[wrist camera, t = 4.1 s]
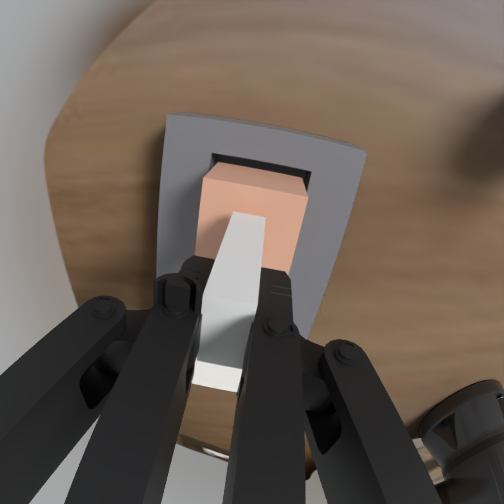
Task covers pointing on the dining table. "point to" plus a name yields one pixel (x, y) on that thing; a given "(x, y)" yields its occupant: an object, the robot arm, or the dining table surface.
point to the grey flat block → (270, 159)
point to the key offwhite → (216, 376)
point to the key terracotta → (252, 210)
